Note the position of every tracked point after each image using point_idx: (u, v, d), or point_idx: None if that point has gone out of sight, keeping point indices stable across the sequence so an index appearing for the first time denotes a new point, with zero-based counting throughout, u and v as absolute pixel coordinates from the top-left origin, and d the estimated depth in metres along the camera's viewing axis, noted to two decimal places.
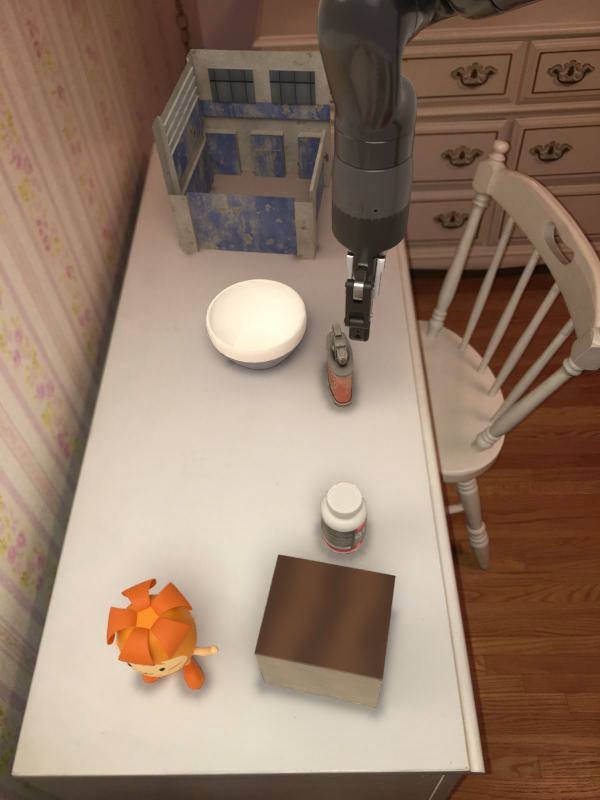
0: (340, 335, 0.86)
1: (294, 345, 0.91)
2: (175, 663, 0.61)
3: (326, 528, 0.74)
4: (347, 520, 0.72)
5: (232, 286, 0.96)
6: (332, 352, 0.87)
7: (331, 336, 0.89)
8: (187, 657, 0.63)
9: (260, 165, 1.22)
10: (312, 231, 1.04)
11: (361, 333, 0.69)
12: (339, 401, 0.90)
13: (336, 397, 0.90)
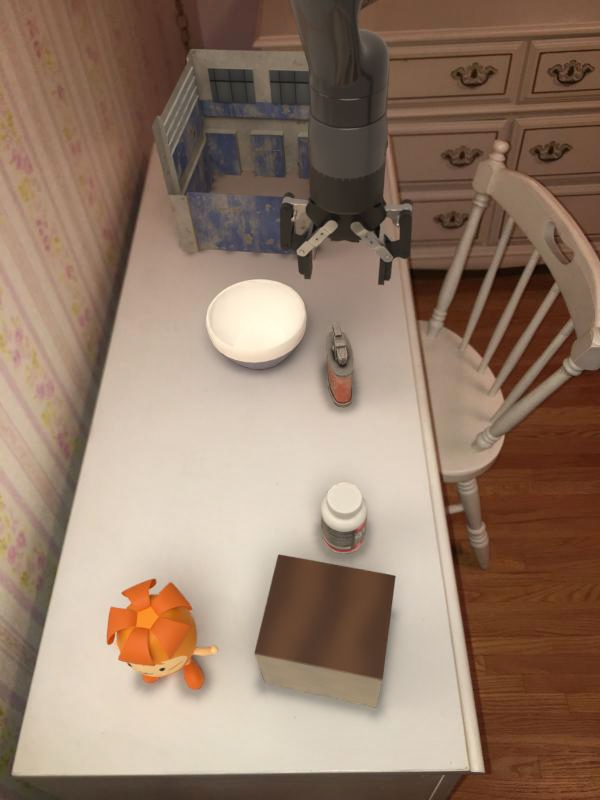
0: (340, 335, 0.86)
1: (294, 345, 0.91)
2: (175, 663, 0.61)
3: (326, 528, 0.74)
4: (347, 519, 0.72)
5: (232, 286, 0.96)
6: (332, 352, 0.87)
7: (331, 336, 0.89)
8: (187, 657, 0.63)
9: (260, 165, 1.22)
10: None
11: (298, 262, 0.74)
12: (339, 401, 0.90)
13: (336, 397, 0.90)
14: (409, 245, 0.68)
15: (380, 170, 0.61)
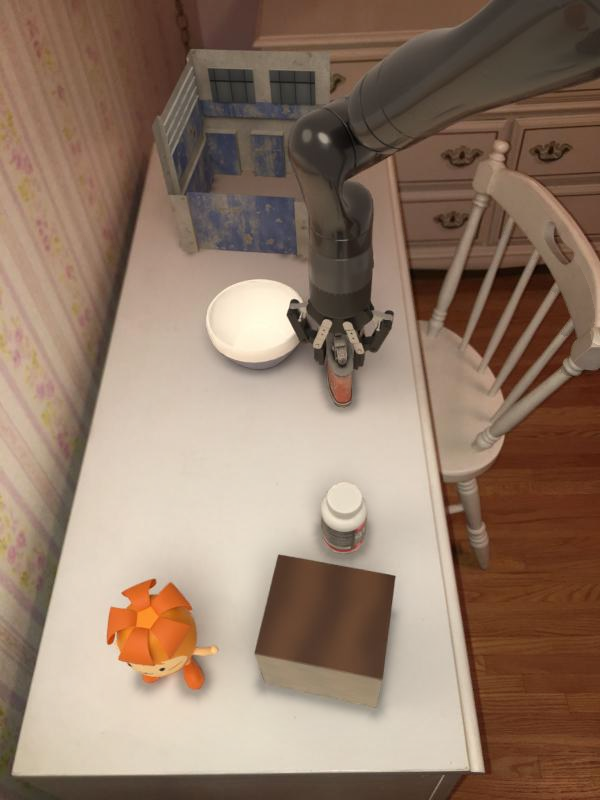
0: (340, 335, 0.86)
1: (294, 345, 0.91)
2: (175, 663, 0.61)
3: (326, 528, 0.74)
4: (347, 519, 0.72)
5: (232, 286, 0.96)
6: (332, 352, 0.87)
7: (331, 336, 0.89)
8: (187, 657, 0.63)
9: (260, 165, 1.22)
10: None
11: (314, 352, 0.88)
12: (339, 401, 0.90)
13: (336, 397, 0.90)
14: (380, 345, 0.83)
15: (367, 286, 0.74)
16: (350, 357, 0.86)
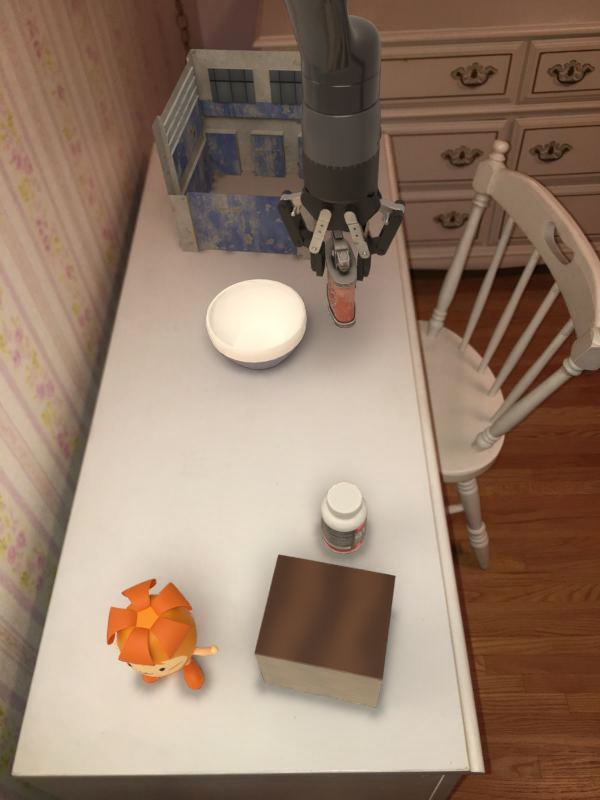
0: (341, 238, 0.73)
1: (294, 345, 0.91)
2: (175, 663, 0.61)
3: (326, 528, 0.74)
4: (347, 519, 0.72)
5: (232, 286, 0.96)
6: (332, 259, 0.74)
7: (331, 243, 0.76)
8: (187, 657, 0.63)
9: (260, 165, 1.22)
10: (312, 231, 1.04)
11: (311, 259, 0.74)
12: (340, 320, 0.77)
13: (337, 315, 0.77)
14: (389, 244, 0.69)
15: (373, 160, 0.61)
16: (353, 264, 0.73)
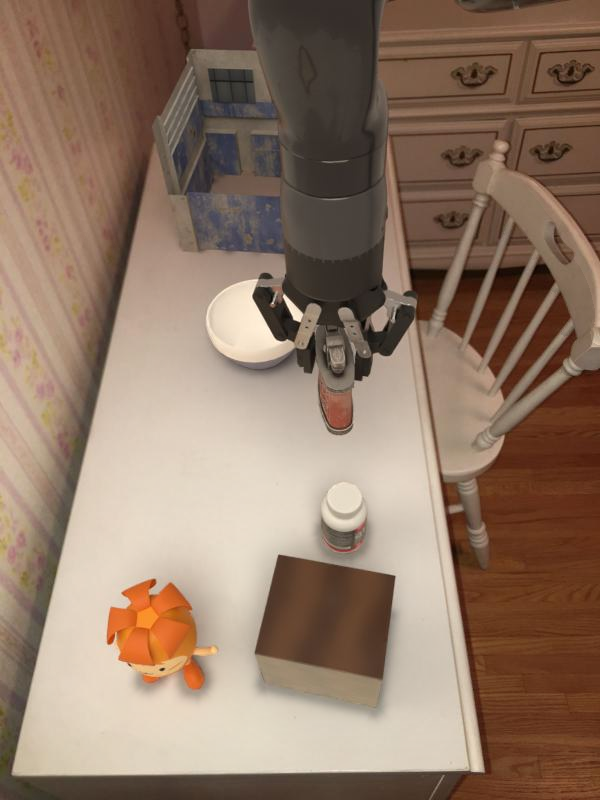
0: (335, 329, 0.57)
1: (294, 345, 0.91)
2: (175, 663, 0.61)
3: (326, 528, 0.74)
4: (347, 519, 0.72)
5: (232, 286, 0.96)
6: (323, 354, 0.59)
7: (323, 331, 0.60)
8: (187, 657, 0.63)
9: (260, 165, 1.22)
10: None
11: (297, 353, 0.59)
12: (334, 426, 0.61)
13: (329, 420, 0.61)
14: (396, 344, 0.54)
15: (376, 249, 0.46)
16: (350, 362, 0.58)
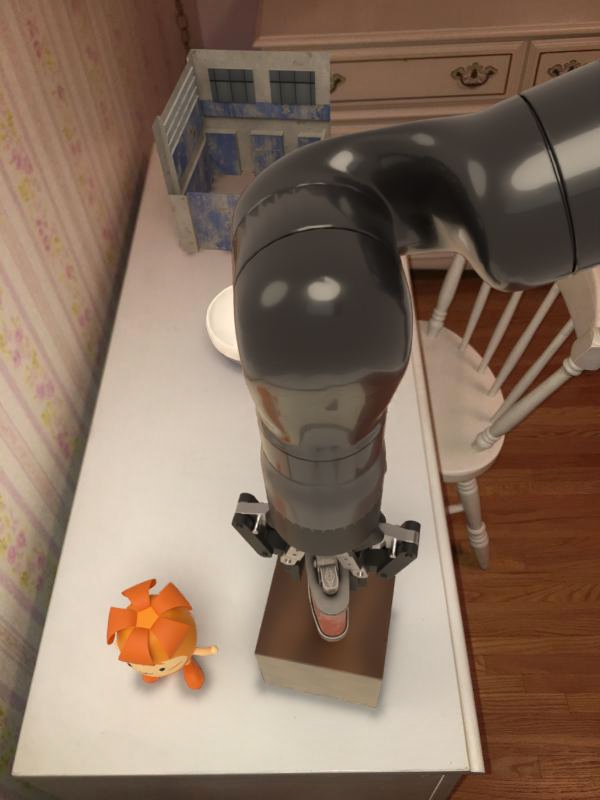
0: None
1: None
2: (175, 663, 0.61)
3: None
4: None
5: (232, 286, 0.96)
6: (314, 565, 0.52)
7: None
8: (187, 657, 0.63)
9: (260, 165, 1.22)
10: None
11: None
12: (327, 634, 0.55)
13: (322, 628, 0.55)
14: (396, 572, 0.47)
15: (373, 509, 0.39)
16: (344, 576, 0.51)
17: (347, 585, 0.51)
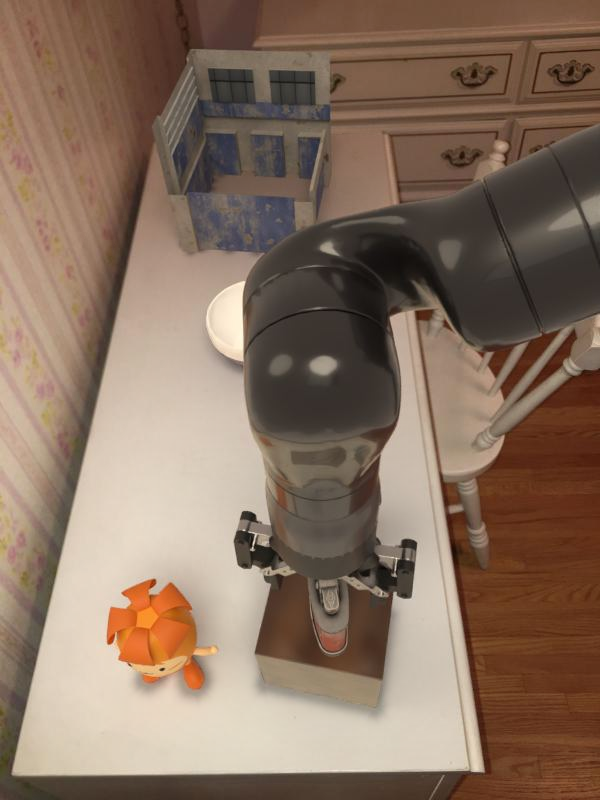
0: None
1: None
2: (175, 663, 0.61)
3: None
4: None
5: (232, 286, 0.96)
6: (316, 586, 0.56)
7: None
8: (187, 657, 0.63)
9: (260, 165, 1.22)
10: None
11: None
12: (327, 649, 0.59)
13: (323, 644, 0.59)
14: (410, 591, 0.50)
15: (369, 538, 0.43)
16: (344, 596, 0.55)
17: (347, 605, 0.55)
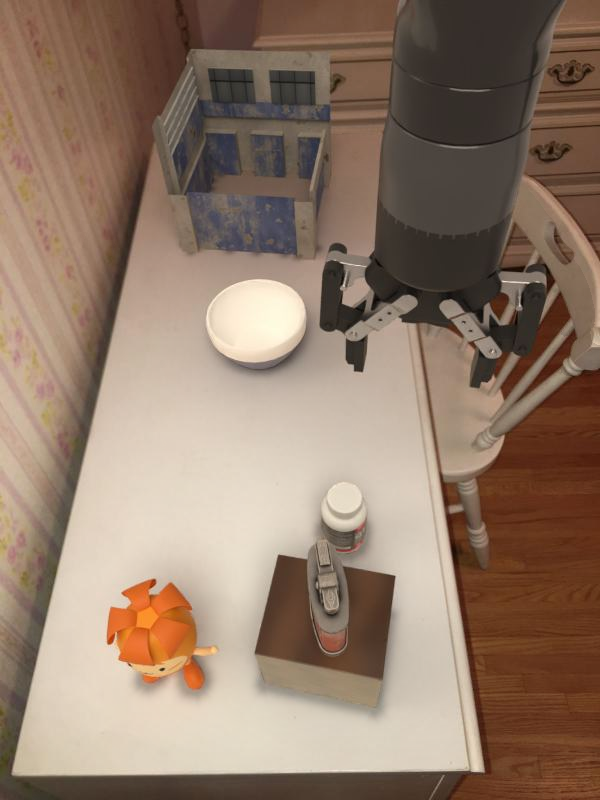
0: (328, 564, 0.55)
1: (294, 345, 0.91)
2: (175, 663, 0.61)
3: (326, 528, 0.74)
4: (347, 519, 0.72)
5: (232, 286, 0.96)
6: (316, 586, 0.56)
7: (315, 554, 0.58)
8: (187, 657, 0.63)
9: (260, 165, 1.22)
10: (312, 231, 1.04)
11: (346, 347, 0.47)
12: (327, 649, 0.59)
13: (323, 644, 0.59)
14: (533, 337, 0.41)
15: (507, 221, 0.34)
16: (344, 596, 0.55)
17: (347, 605, 0.55)
